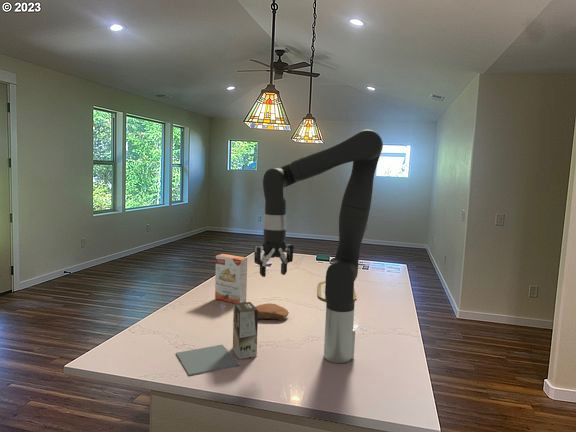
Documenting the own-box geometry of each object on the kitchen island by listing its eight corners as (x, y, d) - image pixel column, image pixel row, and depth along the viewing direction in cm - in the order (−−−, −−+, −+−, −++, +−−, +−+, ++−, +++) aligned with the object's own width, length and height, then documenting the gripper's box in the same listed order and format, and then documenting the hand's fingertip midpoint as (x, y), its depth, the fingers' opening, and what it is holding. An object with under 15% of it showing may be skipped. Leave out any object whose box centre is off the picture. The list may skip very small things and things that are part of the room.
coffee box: (257, 357, 139) (258, 310, 137) (238, 359, 137) (239, 312, 135) (249, 345, 148) (250, 301, 146) (231, 348, 145) (232, 303, 143)
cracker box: (214, 299, 196) (215, 255, 194) (222, 296, 201) (222, 253, 199) (239, 304, 190) (240, 259, 187) (246, 301, 195) (247, 257, 192)
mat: (222, 345, 147) (222, 344, 147) (239, 365, 133) (239, 364, 133) (176, 353, 139) (176, 352, 139) (189, 375, 125) (189, 374, 125)
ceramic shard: (269, 314, 165) (243, 310, 175) (272, 329, 166) (245, 325, 176) (292, 301, 176) (266, 298, 186) (295, 315, 177) (268, 311, 187)
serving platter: (317, 303, 198) (317, 299, 197) (317, 282, 232) (317, 279, 232) (357, 305, 196) (358, 302, 196) (352, 284, 231) (352, 281, 231)
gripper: (260, 230, 135) (258, 280, 137) (298, 228, 142) (297, 276, 144) (250, 226, 142) (249, 274, 144) (288, 225, 149) (286, 270, 151)
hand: (273, 275), depth 144 cm, fingers open, 7 cm apart
